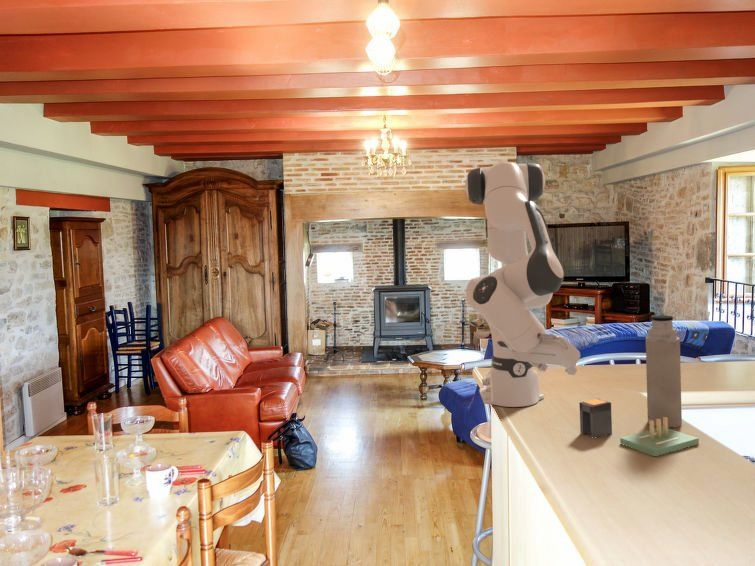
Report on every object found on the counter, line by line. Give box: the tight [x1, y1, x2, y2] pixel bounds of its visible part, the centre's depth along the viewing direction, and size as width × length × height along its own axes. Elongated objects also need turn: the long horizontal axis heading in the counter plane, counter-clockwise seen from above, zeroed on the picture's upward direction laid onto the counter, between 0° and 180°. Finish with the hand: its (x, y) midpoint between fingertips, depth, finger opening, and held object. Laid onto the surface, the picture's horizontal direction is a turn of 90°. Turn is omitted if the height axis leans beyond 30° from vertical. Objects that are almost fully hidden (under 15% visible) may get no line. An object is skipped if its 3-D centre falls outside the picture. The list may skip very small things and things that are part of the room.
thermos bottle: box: [645, 314, 683, 429], centre depth 155 cm, size 8×8×28 cm
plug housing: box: [578, 398, 613, 439], centre depth 151 cm, size 6×4×8 cm
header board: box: [619, 417, 700, 457], centre depth 142 cm, size 14×10×6 cm
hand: (558, 370), depth 145 cm, fingers open, 8 cm apart
